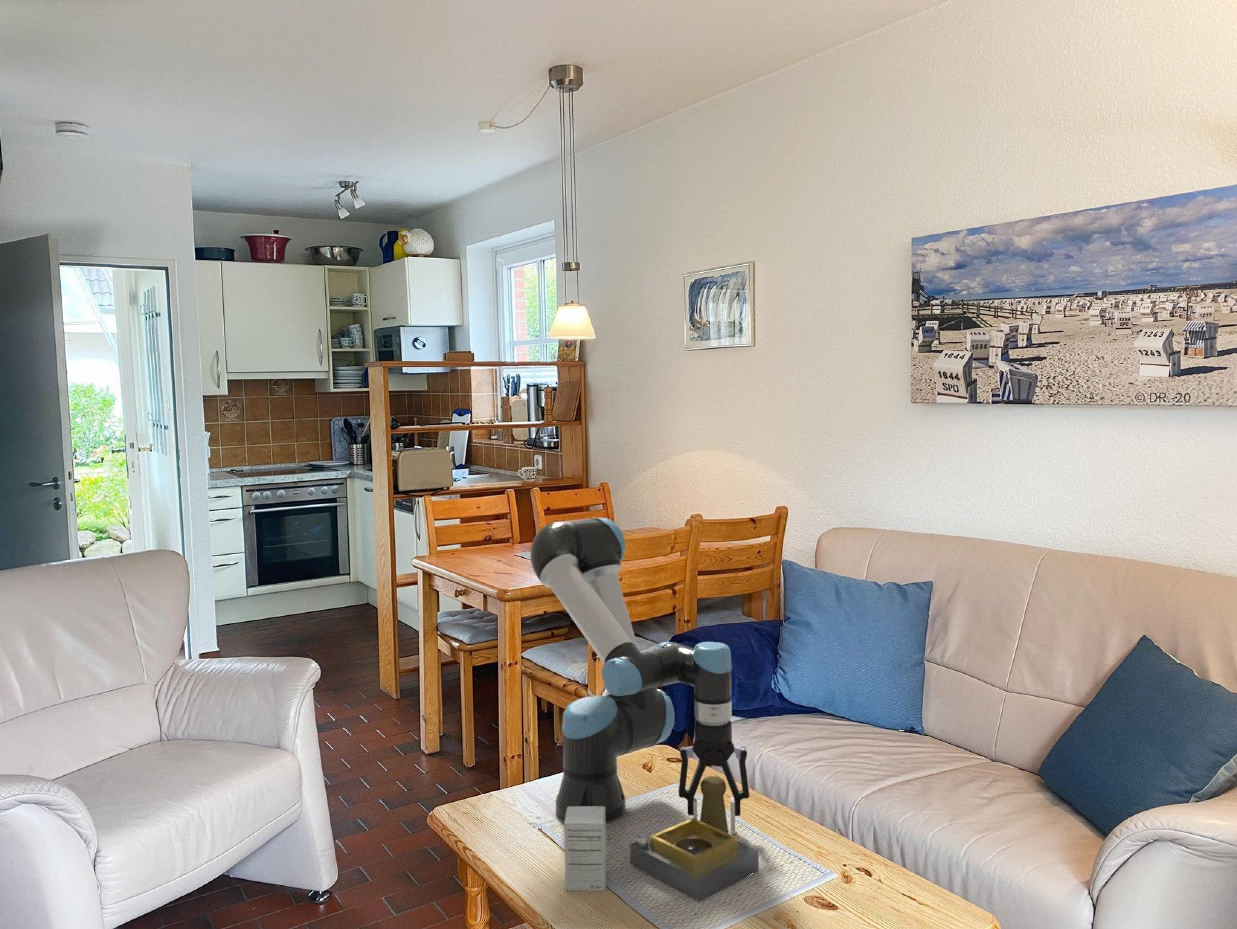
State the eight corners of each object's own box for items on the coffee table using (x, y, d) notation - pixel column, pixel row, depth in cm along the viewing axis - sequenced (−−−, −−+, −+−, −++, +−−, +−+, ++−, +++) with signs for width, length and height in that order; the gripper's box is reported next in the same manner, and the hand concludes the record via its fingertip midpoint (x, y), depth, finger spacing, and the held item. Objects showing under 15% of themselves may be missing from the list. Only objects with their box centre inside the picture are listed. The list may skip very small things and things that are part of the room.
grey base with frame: (630, 864, 174) (630, 833, 174) (689, 838, 185) (689, 809, 185) (699, 902, 161) (698, 868, 161) (758, 871, 171) (758, 839, 171)
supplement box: (567, 871, 172) (566, 805, 172) (607, 871, 172) (606, 805, 171) (564, 891, 165) (563, 822, 164) (605, 891, 165) (604, 822, 164)
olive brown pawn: (727, 838, 185) (726, 785, 184) (697, 836, 186) (696, 783, 185) (729, 825, 190) (729, 773, 190) (700, 823, 192) (700, 771, 191)
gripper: (663, 725, 184) (665, 837, 185) (764, 726, 182) (764, 839, 184) (664, 713, 191) (665, 821, 192) (760, 714, 190) (761, 822, 191)
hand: (714, 830), depth 188 cm, fingers open, 7 cm apart
